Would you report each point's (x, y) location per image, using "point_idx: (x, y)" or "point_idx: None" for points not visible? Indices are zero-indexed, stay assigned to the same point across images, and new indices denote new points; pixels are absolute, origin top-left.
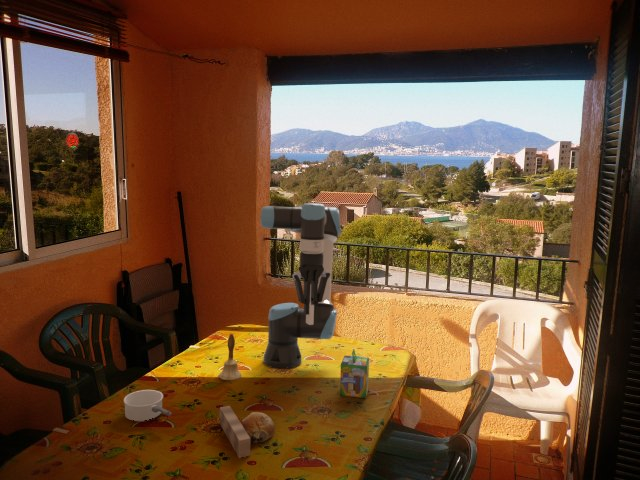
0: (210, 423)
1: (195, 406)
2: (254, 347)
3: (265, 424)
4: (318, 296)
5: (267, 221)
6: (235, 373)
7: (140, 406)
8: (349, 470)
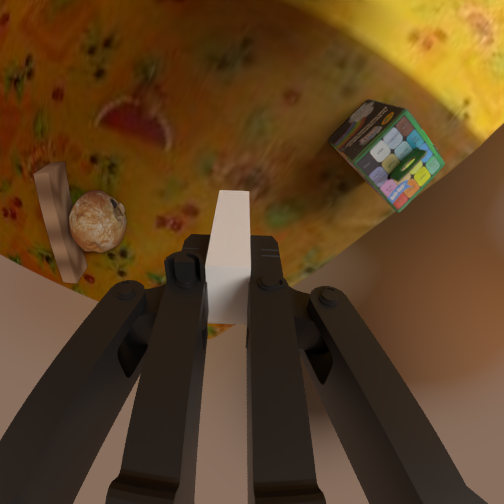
0: (38, 158)
1: (23, 87)
2: None
3: (102, 249)
4: (337, 326)
5: None
6: None
7: None
8: None
